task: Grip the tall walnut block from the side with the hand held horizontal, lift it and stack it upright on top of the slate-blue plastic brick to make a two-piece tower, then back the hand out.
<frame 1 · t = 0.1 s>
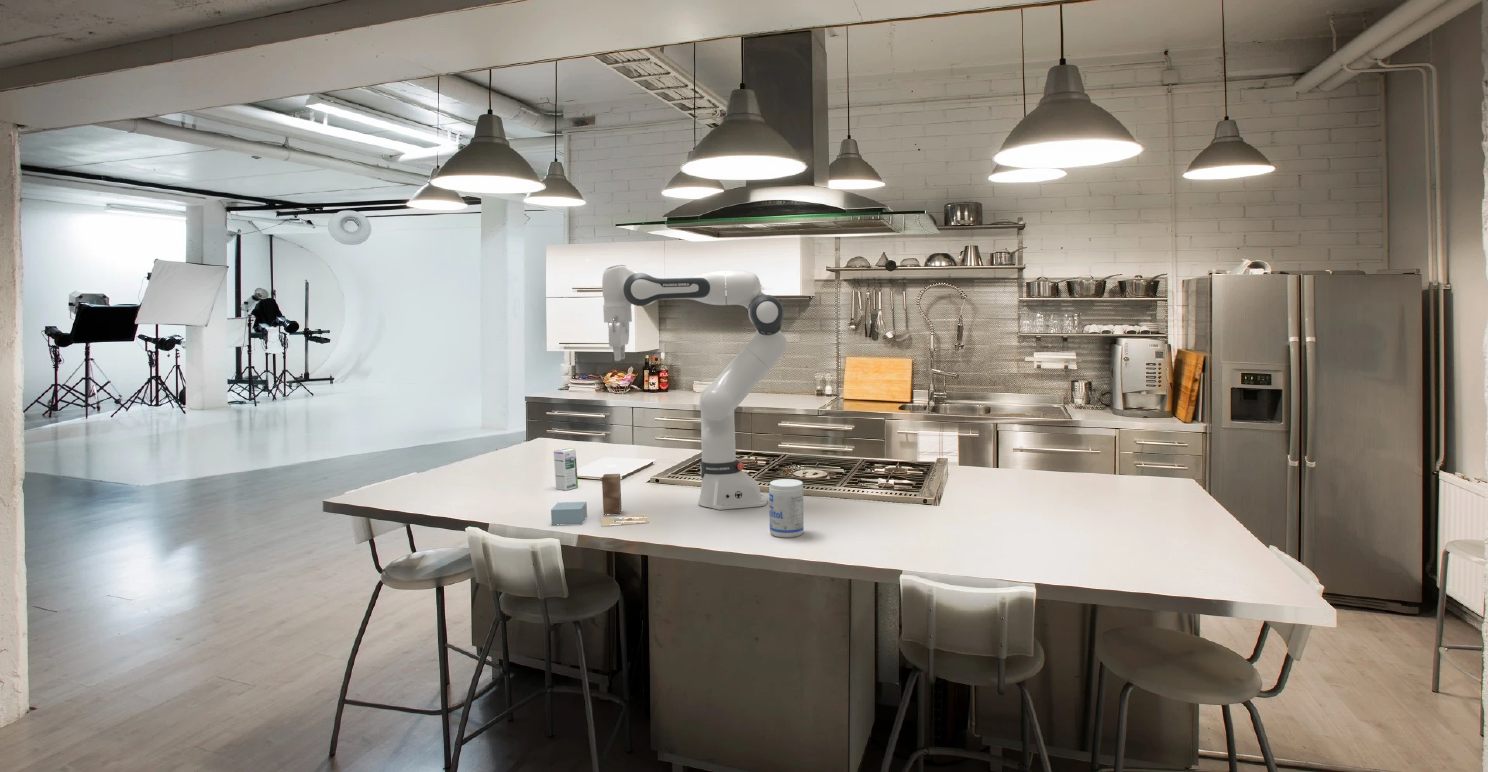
hand: (619, 360, 256), 48 cm above the counter, tool pointing down, fingers open, 8 cm apart
instruction card: (624, 520, 243), on the counter
brick: (569, 521, 244), on the counter
syrup box: (566, 488, 290), on the counter
block: (612, 512, 252), on the counter
supplement tub: (787, 534, 224), on the counter
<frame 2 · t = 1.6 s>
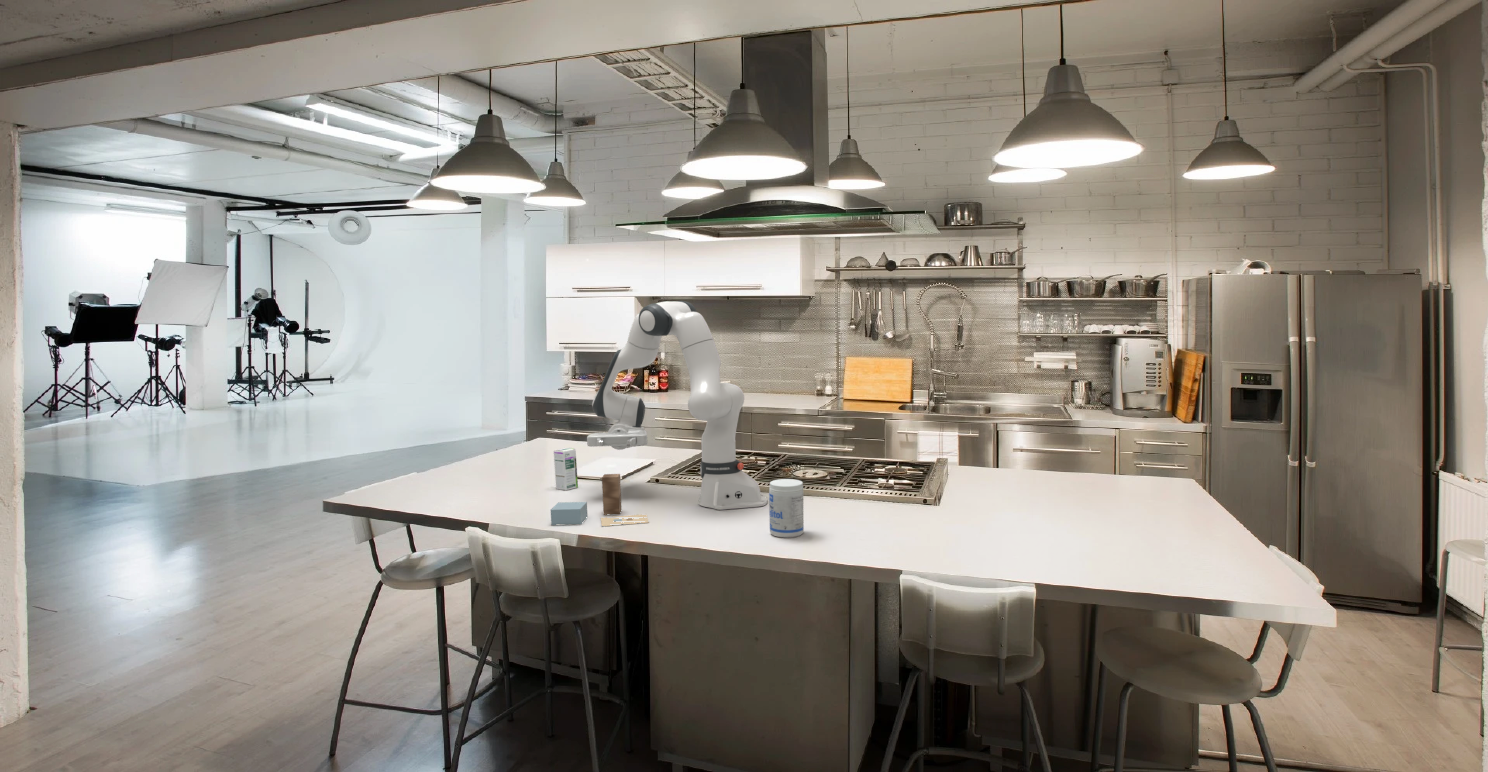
hand: (614, 443, 262), 20 cm above the counter, tool horizontal, fingers open, 8 cm apart
nothing on the counter moved.
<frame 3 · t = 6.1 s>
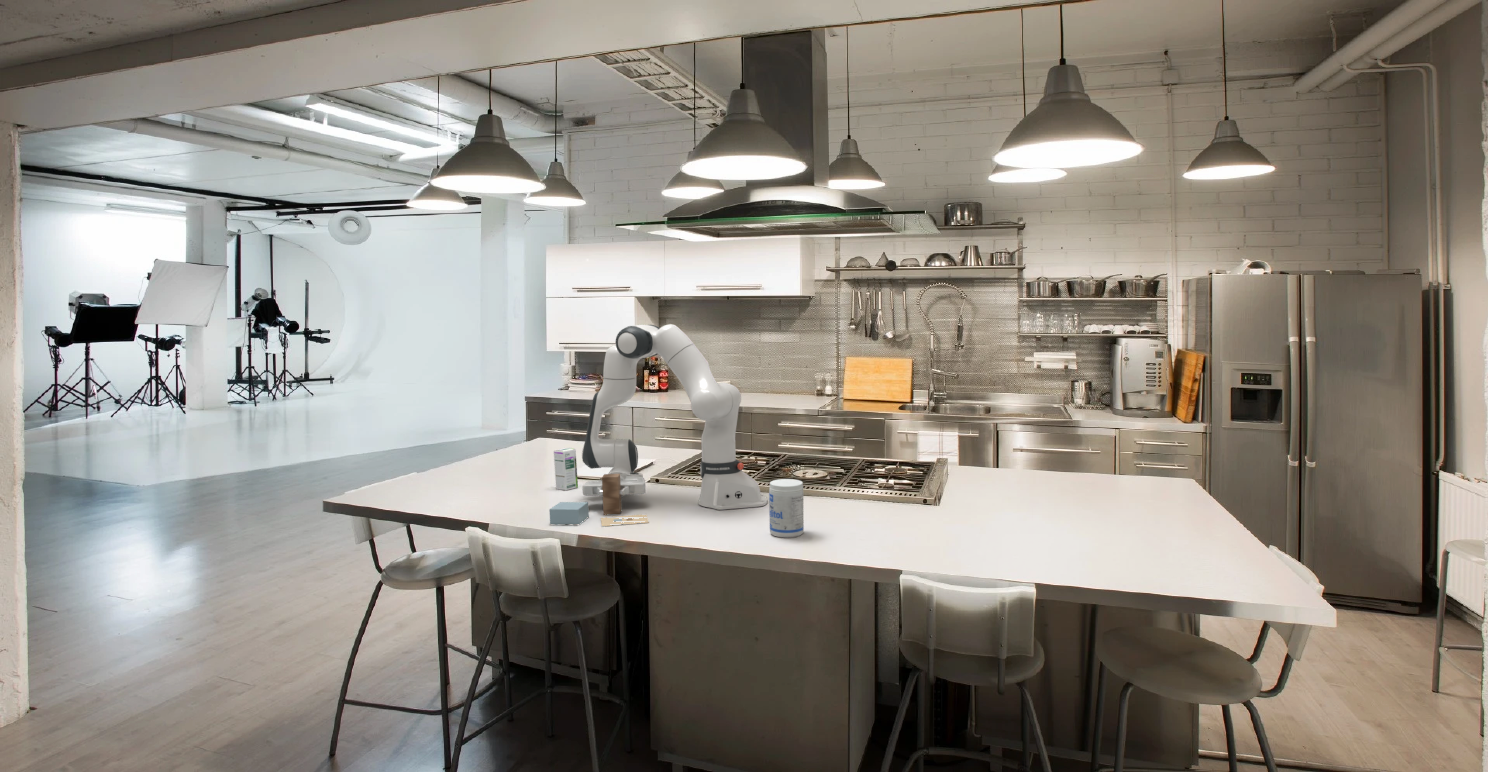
hand: (611, 493, 251), 7 cm above the counter, tool horizontal, fingers closed on block, 5 cm apart
block: (612, 512, 252), on the counter, touching gripper
everything else where it was.
when the fingers open (13 cm above the counter, at t = 10.9 s): block drops 2 cm, resting on brick.
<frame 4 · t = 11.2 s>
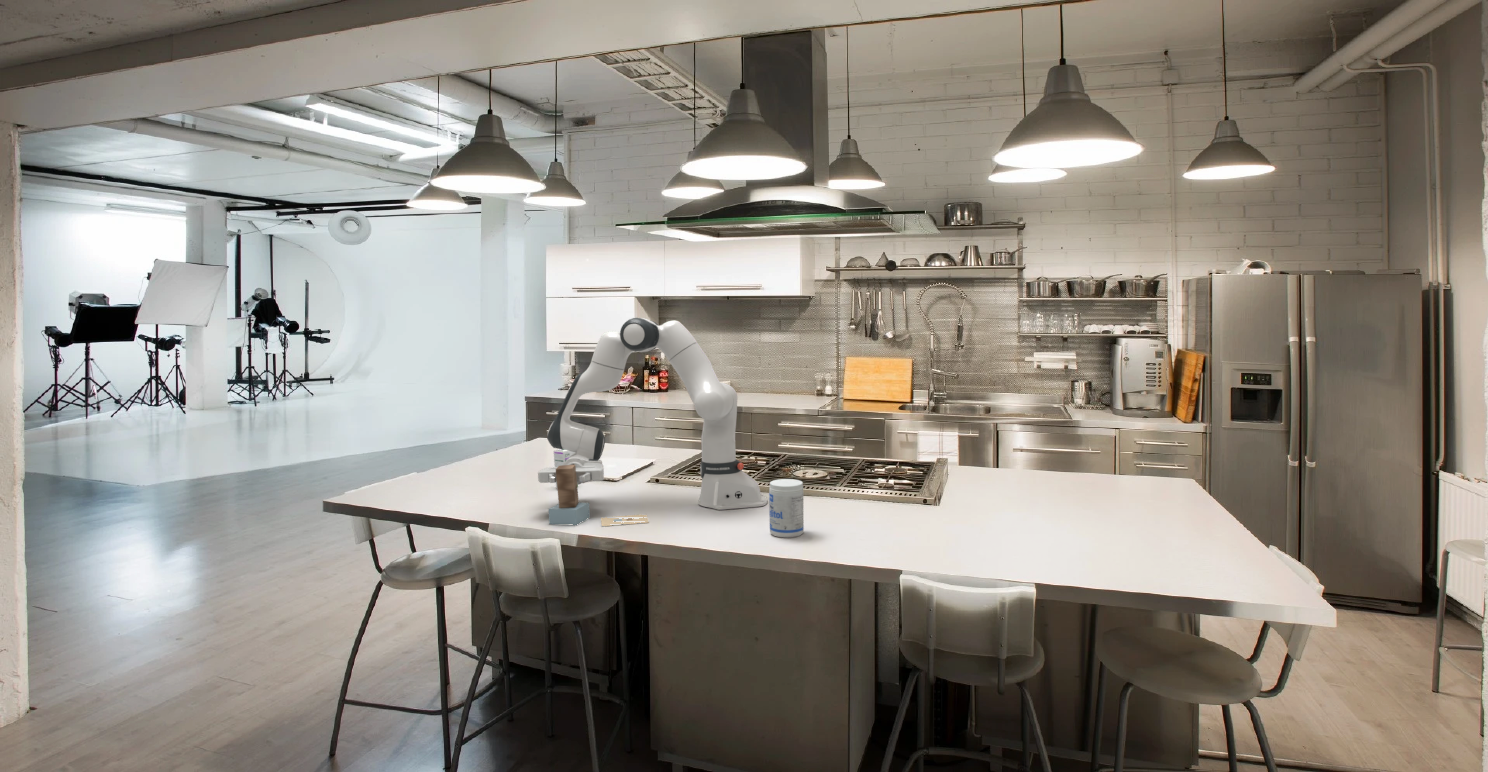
hand: (567, 479, 242), 13 cm above the counter, tool horizontal, fingers open, 8 cm apart
brick: (569, 521, 244), on the counter, touching block
block: (569, 505, 244), point 5 cm above the counter, touching brick
everything else where it was.
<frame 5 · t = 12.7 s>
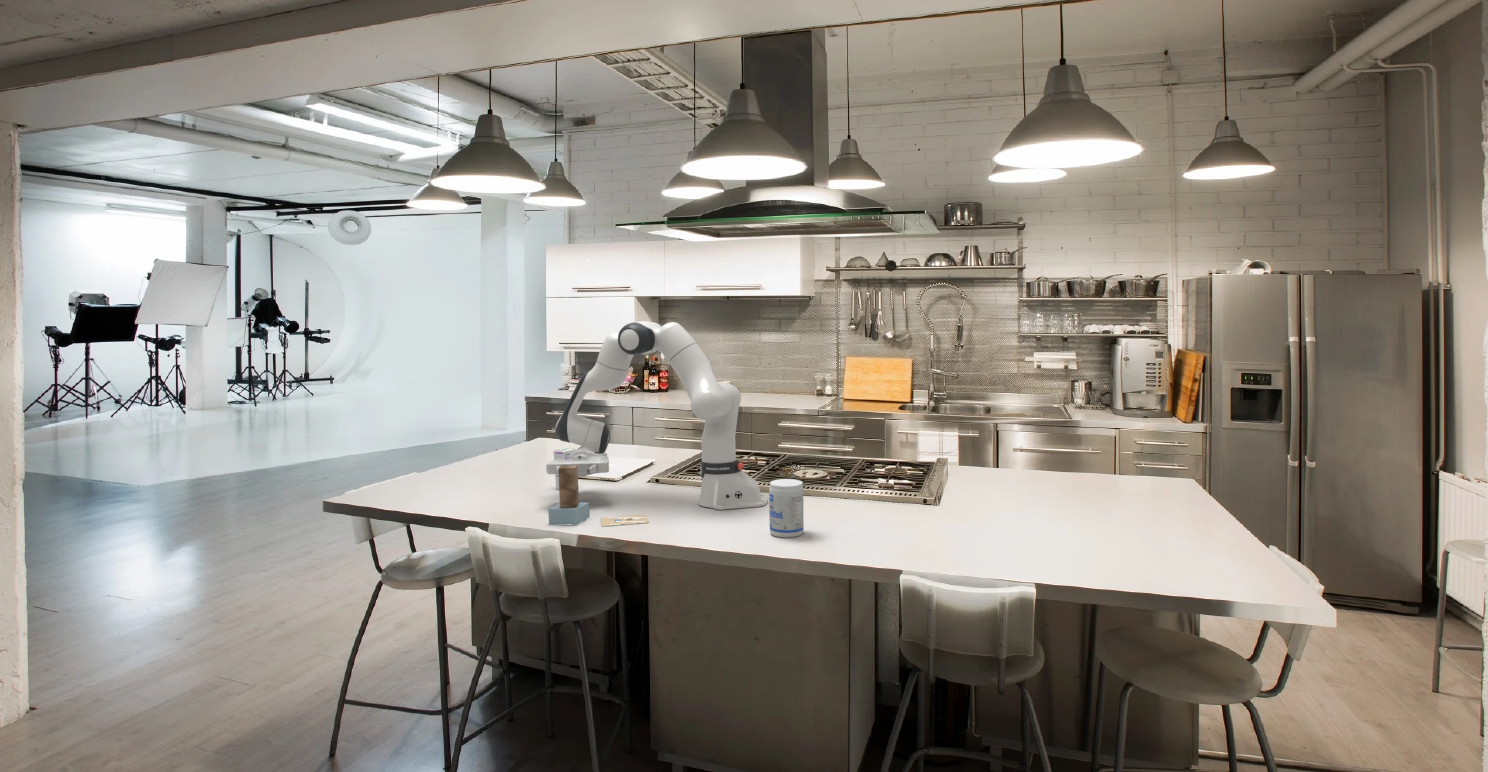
hand: (574, 471, 254), 13 cm above the counter, tool horizontal, fingers open, 8 cm apart
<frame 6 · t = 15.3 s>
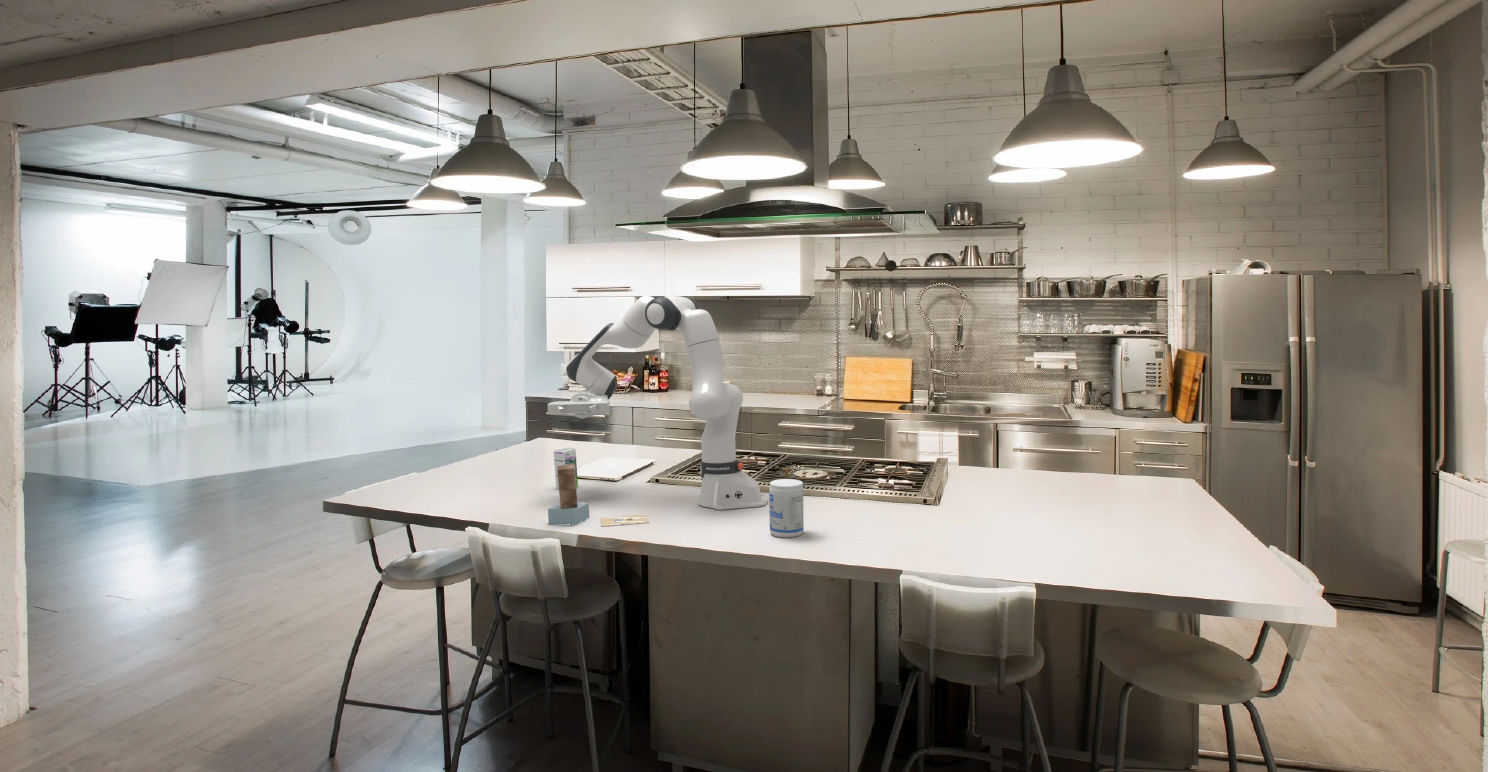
hand: (575, 410, 258), 32 cm above the counter, tool horizontal, fingers open, 8 cm apart
brick: (569, 521, 244), on the counter
block: (568, 505, 244), point 5 cm above the counter
everything else where it was.
at the end: block 0.3 cm off-centre on the brick, point 5.2 cm above the brick's base; block tilted 3°; the gripper is holding nothing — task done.
